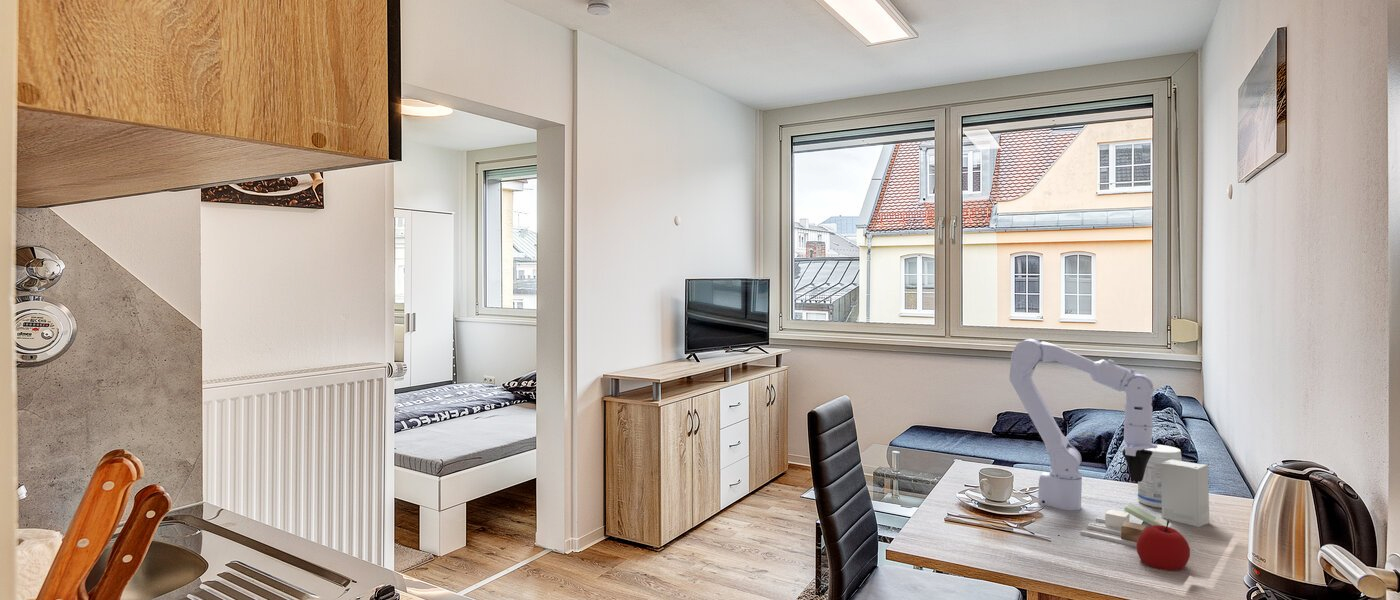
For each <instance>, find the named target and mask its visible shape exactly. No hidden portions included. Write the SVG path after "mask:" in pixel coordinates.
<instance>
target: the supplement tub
mask: <svg viewBox="0 0 1400 600" xmlns="http://www.w3.org/2000/svg"><path fill="white" fill-rule="evenodd" d="M1144 450H1148V451H1152V452H1153V453H1152V455H1151V457H1150V459H1149V460H1148V463H1147V465H1146V469H1145V473H1144V477H1143V480H1142V481H1141V482H1138V481H1137V500H1138V502H1140V503H1141V504H1143V505H1145V506H1148V507H1152V508H1157V509H1162V495H1161V463H1162V462H1165V461H1168V460H1171V459H1173V460H1178V461H1182V451H1181V449H1180V448H1178V447H1174V446H1171V445H1164V444H1157V448H1149V449H1144Z"/></svg>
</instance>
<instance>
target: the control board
mask: <svg viewBox="0 0 1400 600" xmlns="http://www.w3.org/2000/svg"><path fill="white" fill-rule="evenodd" d="M1095 522H1098V523H1104V524H1105V518H1102V517H1095ZM1141 524H1142V525H1147V528H1148V527H1150V526H1152V525H1150V524H1148V523H1146V522H1144V521H1142V522H1141ZM1086 526H1087V527H1086V529H1088V530H1093V531H1098V532H1102V533H1106V534H1111V535H1115V536H1119V537H1121V529H1118V528H1113V527H1108V526H1105V525H1103V524H1097V523H1093V522H1089V524H1087V525H1086ZM1079 533H1080V534H1079V535H1081V536H1086V537H1091V538H1094V539H1099V540H1103V541H1108V542H1112V543H1117V544H1123V545H1127V546H1132V547H1136V545H1137V542H1133V541H1128V540H1124V539H1121V538H1119V537H1115V536H1109V535H1105V534H1101V533H1095V532H1092V531H1091V532H1090V531H1087V530H1083V529H1081V530H1080V531H1079Z"/></svg>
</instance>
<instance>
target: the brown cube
mask: <svg viewBox="0 0 1400 600" xmlns="http://www.w3.org/2000/svg"><path fill="white" fill-rule="evenodd" d="M1146 528H1147V525H1142V523H1138V522H1133V521H1132V522H1131V521H1129V522H1127V521H1126V522H1125V523H1124V524H1123V525H1122V526H1121V536H1120V539H1124V540H1128V541H1133V542H1137V540H1138V538H1139V536H1140V535H1141V533H1142V532H1143V531H1144V530H1145V529H1146Z"/></svg>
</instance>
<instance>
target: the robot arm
mask: <svg viewBox="0 0 1400 600" xmlns="http://www.w3.org/2000/svg"><path fill="white" fill-rule="evenodd" d="M1041 360H1042V363H1048V362H1051V363H1052V362H1058V363H1061V364H1063V365H1066V366H1068V367H1071V368H1075V369H1077V370H1080V371H1083V372H1086V373H1087V374H1089V375H1090V377H1091V379H1092V381H1093V382H1096V383H1098V384H1100V385H1103V386H1105V387H1108V388H1111V389H1113V390H1115V391H1118V392H1125V394H1126V396H1125V400H1126V401H1125V404H1124V420H1123V421H1124V423H1123V441H1122V445H1123V446H1124V448H1125V449H1122V451H1121V452H1122V456H1123V457H1124V459H1125V462H1126V463H1127V468H1128V472H1129V476H1130V480H1131V482H1132V481H1133V482H1137V483H1138V482H1141V481H1142V480H1143V477H1144V473H1145V469H1146V465H1147V463H1148V460H1149V459H1150V457H1151V455H1152V453H1153V452H1152V451H1148V450H1144V449H1149V448H1157V445H1158V443H1157V444H1156V443H1152V440H1153V439H1152V437H1153V405H1152V404H1153V398H1152V395H1153V394H1154V390H1155V388H1154V384H1153V380H1152V379H1151V378H1150V377H1149V376H1147V375H1146V374H1144V373H1143V372H1138V371H1137V372H1136V369H1134V368H1129V369H1128V368H1126V367H1124V366H1121V365H1119V364H1116V363H1115V360H1112V359H1108V360H1105V359H1100V360H1097V361H1094V360H1092V359H1090V358H1088V357H1085V356H1083V355H1081V354H1078V353H1075V352H1073V351H1072V350H1069V349H1066V348H1064V347H1062V346H1059V345H1058V344H1054V343H1051V342H1047V341H1044V340H1042V341H1041V340H1040V339H1037V338H1033V337H1032V338H1031V337H1029V338H1026V339H1024V340H1022V341H1019V342H1018V343H1017V344H1016V345H1015V347H1014V348H1013V350H1012V352H1011V354H1010V366H1009V367H1010V368H1009V381H1010V383H1011V385H1012V387H1013V389H1014V390H1015V392H1016V395H1017V396H1018V398H1019V399H1020V401H1021V403H1022V405H1023V406H1024V408H1025V410H1026V412H1027V414H1028V416H1029V418H1030V420H1031V421H1032V423H1033V425H1034V426H1035V428H1036V430H1037V432H1038V434H1039V436H1040V437H1041V440H1042V441H1043V443H1044V447H1045V449H1046V453H1047V455H1048V457H1049V463H1050V464H1049V465H1050V470H1049V472H1047V471H1042V472H1041V474H1040V475H1039V479H1038V496H1037V498H1038V499H1037V500H1038V501H1037V503H1038V504H1039V505H1043V506H1048V507H1052V508H1056V509H1060V510H1065V511H1066V510H1067V511H1078V510H1082V483H1083V481H1082V478H1083V475H1082V474H1081V472H1080V471H1079V467H1080V465H1081V464H1082V455H1081V453H1080V451H1079V450H1078V449H1077V448H1076V447H1074V446H1073V445H1072V444H1071V443H1070V442H1069V440H1068V438H1067V437H1066V436H1065V435H1064V434H1063V432H1062V430H1061V428H1060V427H1059V425H1058V424H1057V421H1056V420H1055V418H1054V416H1053V415H1052V412H1051V411H1050V409H1049V407H1048V405H1047V403H1046V402H1045V400H1044V399H1043V398H1044V397H1042V394H1041V393H1040V391H1039V389H1038V387H1037V386H1036V384H1035V382H1034V381H1033V375H1034V372H1035V369H1036V366H1037V365H1038V364H1039V363H1040V362H1041Z"/></svg>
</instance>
